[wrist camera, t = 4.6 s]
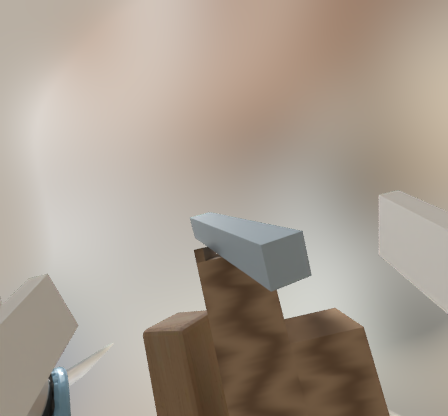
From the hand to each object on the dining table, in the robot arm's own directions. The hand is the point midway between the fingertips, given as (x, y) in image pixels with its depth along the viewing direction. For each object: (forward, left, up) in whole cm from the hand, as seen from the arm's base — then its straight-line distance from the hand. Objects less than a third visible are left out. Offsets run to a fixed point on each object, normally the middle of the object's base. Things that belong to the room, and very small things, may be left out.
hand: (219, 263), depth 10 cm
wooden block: (-13, +38, -31) cm, 51 cm away
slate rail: (0, +21, 0) cm, 21 cm away
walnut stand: (+4, +27, -31) cm, 41 cm away
